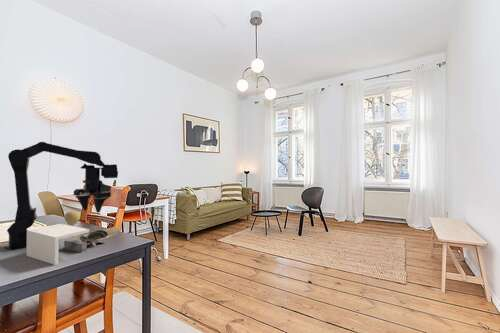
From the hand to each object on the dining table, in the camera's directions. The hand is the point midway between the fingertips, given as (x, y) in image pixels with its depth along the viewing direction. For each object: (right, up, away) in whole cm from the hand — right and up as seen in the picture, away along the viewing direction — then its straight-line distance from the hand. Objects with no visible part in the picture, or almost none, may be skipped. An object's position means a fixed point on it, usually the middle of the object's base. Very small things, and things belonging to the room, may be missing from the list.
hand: (91, 211), depth 115 cm
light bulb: (-16, -12, +9) cm, 22 cm away
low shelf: (+2, -12, -22) cm, 26 cm away
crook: (+8, -13, -6) cm, 16 cm away
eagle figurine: (+8, -13, -12) cm, 19 cm away
